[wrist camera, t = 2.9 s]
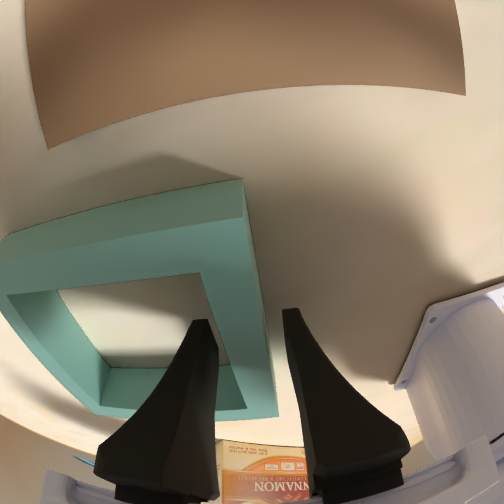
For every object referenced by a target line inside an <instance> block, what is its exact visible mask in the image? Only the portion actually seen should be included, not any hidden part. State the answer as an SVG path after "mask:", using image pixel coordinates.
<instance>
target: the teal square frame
mask: <svg viewBox="0 0 504 504" xmlns="http://www.w3.org/2000/svg"><path fill="white" fill-rule="evenodd" d="M197 272H199V273H200V276H201V280H202V283H203V286H204V289H205V292H206V295H207V298H208V301H209V304H210V307H211V310H212V313H213V316H214V319H215V322H216V325H217V328H218V331H219V334H220V336H221V339H222V342H223V345H224V348H225V351H226V353H227V356H228V359H229V362H230V364H231V365H221V366H219V374H218V385H217V396H216V406H215V421H236V420H251V419H262V418H272V417H279V411H278V401H277V392H276V382H275V373H274V367H273V360H272V354H271V348H270V342H269V336H268V330H267V324H266V318H265V312H264V306H263V300H262V294H261V288H260V282H259V276H258V270H257V264H256V258H255V252H254V246H253V240H252V234H251V228H250V222H249V216H248V210H247V204H246V198H245V192H244V186H243V180H242V179H236V180H229V181H223V182H217V183H211V184H206V185H200V186H195V187H189V188H184V189H179V190H174V191H169V192H164V193H159V194H154V195H150V196H145V197H141V198H136V199H132V200H128V201H123V202H119V203H115V204H111V205H107V206H103V207H99V208H95V209H91V210H88V211H84V212H80V213H77V214H73V215H69V216H66V217H62V218H59V219H56V220H52V221H49V222H46V223H42V224H39V225H36V226H33V227H30V228H27V229H23V230H20V231H17V232H14V233H12V234H9V235H7V236H6V237H5V238H4V239H3V240H2V241H1V242H0V311H1V313H2V314H3V316H4V317H5V319H6V320H7V321H8V323H9V324H10V325H11V327H12V328H13V329H14V331H15V332H16V333H17V335H18V336H19V337H20V338H21V340H22V341H23V342H24V343H25V345H26V346H27V347H28V348H29V349H30V351H31V352H32V353H33V354H34V355H35V356H36V358H37V359H38V360H39V361H40V362H41V363H42V364H43V365H44V366H45V368H46V369H47V370H48V371H49V372H50V373H51V374H52V375H53V376H54V377H55V378H56V379H57V380H58V381H59V382H60V383H61V384H62V385H63V386H64V387H65V388H66V389H67V390H68V391H69V392H70V393H71V394H72V395H73V396H74V397H75V398H76V399H77V400H79V401H80V402H81V403H82V404H83V405H84V406H85V407H86V408H88V409H89V410H90V411H91V412H92V413H93V414H97V415H103V416H111V417H119V418H130V417H131V416H132V415H133V414H134V413H135V412H136V411H137V410H138V409H139V408H140V406H141V405H142V404H143V403H144V402H145V400H146V399H147V398H148V397H149V395H150V394H151V393H152V391H153V390H154V389H155V387H156V386H157V384H158V383H159V381H160V380H161V378H162V377H163V375H164V373H165V372H166V370H167V369H168V368H111V367H110V366H109V365H108V364H107V363H106V361H105V360H104V359H103V358H102V356H101V355H100V354H99V352H98V351H97V350H96V348H95V347H94V346H93V344H92V343H91V342H90V340H89V339H88V338H87V336H86V335H85V333H84V332H83V331H82V329H81V328H80V326H79V325H78V323H77V322H76V321H75V319H74V318H73V316H72V315H71V313H70V312H69V310H68V308H67V307H66V305H65V304H64V302H63V301H62V299H61V297H60V296H59V294H58V292H57V291H56V290H58V289H66V288H75V287H84V286H93V285H101V284H109V283H118V282H126V281H134V280H142V279H150V278H158V277H166V276H174V275H182V274H190V273H197Z"/></svg>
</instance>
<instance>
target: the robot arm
mask: <svg viewBox="0 0 504 504" xmlns="http://www.w3.org/2000/svg"><path fill="white" fill-rule="evenodd" d="M503 305H504V282H503V283H500V284H497V285H494V286H491V287H488V288H485V289H482V290H479V291H476V292H473V293H470V294H466V295H463V296H460V297H456V298H453V299H450V300H446V301H443V302H439V303H435V304H433V305H431V306H430V307H429V308H428V309H427V311H426V313H425V316H424V318H423V321H422V324H421V326H420V329H419V331H418V334H417V336H416V339H415V341H414V344H413V346H412V348H411V351H410V353H409V355H408V358H407V360H406V362H405V364H404V366H403V369H402V371H401V373H400V375H399V377H398V379H397V381H396V383H395V385H394V389H395V390H396V391H399V390H402V389H406V390H407V393H408V396H409V399H410V401H411V404H412V407H413V410H414V412H415V415H416V418H417V421H418V424H419V427H420V430H421V433H422V436H423V440H424V443H425V445H426V448H427V450H428V451H429V452H430V454H431V455H432V456H433V457H435V458H436V459H437V460H439V461H437V462H435V463H433V464H430V465H428V466H426V467H423V468H421V469H418V470H416V471H413V472H411V473H408V474H405V475H403V476H402V473H401V469H400V468H402V462H401V459H402V458H403V457H404V456H405V455H406V454H408V453H409V451H410V450H411V448H410V444H409V441H408V439H407V437H406V435H405V433H404V431H403V429H402V428H401V426H399V425H398V424H397V423H395V422H394V421H392V420H391V419H389V418H388V417H387V416H385V415H384V414H383V413H382V412H380V411H379V410H378V409H377V408H375V407H374V406H373V405H372V404H371V403H369V402H368V401H367V400H366V399H365V398H364V397H363V396H362V395H361V394H360V393H359V392H358V391H356V390H355V389H354V388H353V387H352V385H351V384H350V383H349V382H348V381H347V380H346V379H345V378H344V377H343V376H342V375H341V374H340V372H339V371H338V370H337V369H336V368H335V366H334V365H333V364H332V363H331V361H330V360H329V359H328V357H327V356H326V355H325V353H324V352H323V350H322V349H321V348H320V346H319V345H318V343H317V342H316V340H315V338H314V337H313V335H312V334H311V332H310V330H309V328H308V327H307V325H306V323H305V321H304V319H303V317H302V315H301V312H300V310H299V309H298V308H290V309H283V310H282V317H283V326H284V336H285V345H286V352H287V359H288V364H289V369H290V373H291V377H292V381H293V385H294V389H295V393H296V397H297V402H298V406H299V411H300V418H301V425H302V433H303V441H304V449H305V458H306V467H307V476H308V486H309V496H310V499H307V500H300V501H292V502H283V503H272V504H360V503H361V504H504V314H503V313H502V311H501V309H502V307H503ZM218 374H219V352H218V346H217V343H216V340H215V338H214V335H213V332H212V330H211V327H210V324H209V322H208V319H198V320H193V321H192V323H191V325H190V327H189V329H188V331H187V333H186V335H185V337H184V339H183V341H182V343H181V345H180V347H179V349H178V351H177V353H176V355H175V356H174V358H173V360H172V362H171V364H170V365H169V367H168V369H167V370H166V372H165V373H164V375H163V377H162V378H161V380H160V381H159V383H158V384H157V386H156V387H155V389H154V390H153V391H152V393H151V394H150V395H149V397H148V398H147V399H146V400H145V402H144V403H143V404H142V405H141V406H140V408H139V409H138V410H137V411H136V412H135V413H134V414H133V415H132V416H131V417H130V418H129V419H128V420H127V421H126V422H125V423H124V424H123V425H122V426H121V427H120V428H119V429H118V430H117V431H116V432H115V433H114V434H113V435H111V436H110V437H109V438H108V439H106V440H105V441H104V442H103V443H102V444H100V445H99V447H98V450H97V454H96V460H95V465H94V471H93V472H94V474H95V475H96V476H98V477H100V478H102V479H104V480H107V481H109V482H111V483H114V484H116V489H115V491H113V490H108V489H104V488H101V487H98V486H94V485H90V484H88V483H84V482H81V481H78V480H75V479H74V478H72V477H70V476H68V475H66V474H63V473H61V472H58V471H55V470H53V469H50V468H46V472H45V477H44V482H43V487H42V493H41V499H40V504H201V502H208V501H215V500H216V499H217V498H218V497H219V496H220V490H219V482H218V474H217V462H216V447H215V406H216V396H217V385H218Z"/></svg>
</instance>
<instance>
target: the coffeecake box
mask: <svg viewBox="0 0 504 504" xmlns="http://www.w3.org/2000/svg"><path fill="white" fill-rule="evenodd" d="M215 447H216V462H217V474H218V482H219V490H220V496H219V497H218V498H217V499H216V500H215V501H208V502H201V504H272V503H283V502H292V501H300V500H307V499H310V496H309V486H308V476H307V467H306V458H305V449H304V448H298V447H279V446H267V445H257V444H248V443H240V442H233V441H227V440H222V441H220V442H218V443H217V444H215Z"/></svg>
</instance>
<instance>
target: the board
mask: <svg viewBox="0 0 504 504" xmlns="http://www.w3.org/2000/svg"><path fill="white" fill-rule="evenodd" d="M25 17H26V35H27V46H28V56H29V64H30V71H31V77H32V83H33V89H34V94H35V99H36V104H37V109H38V113H39V117H40V122H41V126H42V130H43V133H44V137H45V141H46V144H47V148H48V149H51V148H53V147H55V146H57V145H60V144H62V143H64V142H66V141H69V140H71V139H74V138H76V137H78V136H81V135H83V134H86V133H89V132H91V131H94V130H97V129H99V128H102V127H105V126H108V125H111V124H113V123H116V122H119V121H122V120H126V119H129V118H132V117H135V116H138V115H142V114H145V113H149V112H152V111H156V110H160V109H163V108H167V107H171V106H175V105H179V104H184V103H188V102H193V101H197V100H202V99H207V98H212V97H218V96H223V95H229V94H236V93H242V92H249V91H257V90H265V89H274V88H285V87H298V86H315V85H378V86H395V87H407V88H417V89H425V90H433V91H440V92H447V93H453V94H458V95H464V96H466V89H465V69H464V58H463V48H462V40H461V33H460V27H459V21H458V15H457V10H456V6H455V1H454V0H25Z"/></svg>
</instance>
